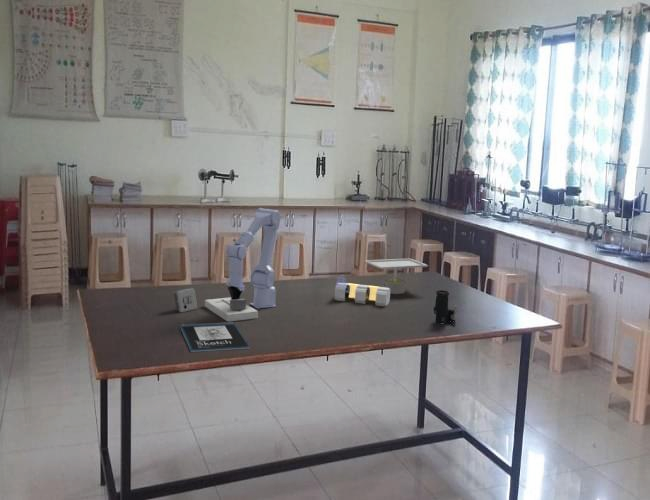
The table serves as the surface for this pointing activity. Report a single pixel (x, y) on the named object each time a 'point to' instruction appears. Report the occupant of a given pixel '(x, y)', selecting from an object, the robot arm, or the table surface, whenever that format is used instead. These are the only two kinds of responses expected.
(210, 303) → the white flat rectangular block
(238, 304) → the fader tab
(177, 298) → the electrical switch
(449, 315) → the scope
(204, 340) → the sketchbook
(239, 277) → the robot arm
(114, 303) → the table surface
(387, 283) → the solar panel model
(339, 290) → the gray yellow segmented block
